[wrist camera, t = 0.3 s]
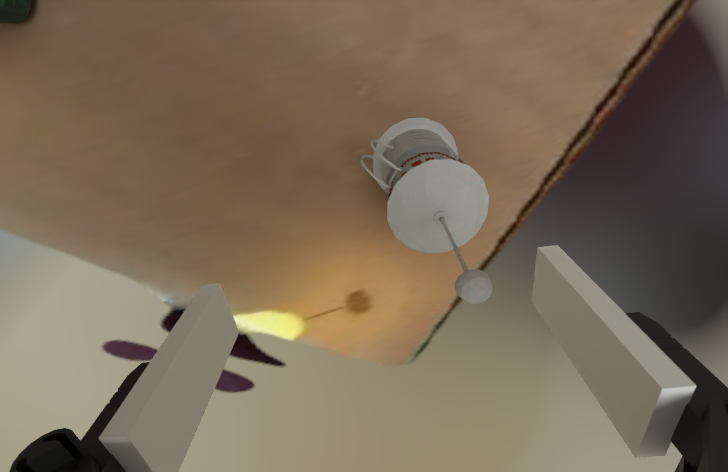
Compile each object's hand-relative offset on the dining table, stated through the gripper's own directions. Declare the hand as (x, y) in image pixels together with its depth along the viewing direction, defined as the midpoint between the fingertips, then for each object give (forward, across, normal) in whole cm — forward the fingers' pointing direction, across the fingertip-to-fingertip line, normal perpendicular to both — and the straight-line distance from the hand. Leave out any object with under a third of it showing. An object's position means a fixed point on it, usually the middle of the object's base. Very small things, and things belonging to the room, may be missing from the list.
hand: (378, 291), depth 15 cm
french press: (+28, +4, -2) cm, 28 cm away
